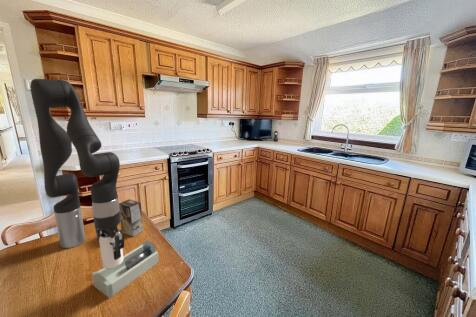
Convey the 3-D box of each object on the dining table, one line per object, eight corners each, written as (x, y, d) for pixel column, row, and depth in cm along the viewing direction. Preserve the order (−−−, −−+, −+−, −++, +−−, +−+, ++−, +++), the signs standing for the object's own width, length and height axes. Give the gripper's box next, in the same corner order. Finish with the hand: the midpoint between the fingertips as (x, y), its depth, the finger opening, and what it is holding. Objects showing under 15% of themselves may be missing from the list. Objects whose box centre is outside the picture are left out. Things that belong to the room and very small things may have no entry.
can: (114, 271, 69) (110, 239, 66) (98, 267, 70) (93, 236, 67) (127, 258, 75) (124, 228, 72) (112, 255, 76) (109, 226, 74)
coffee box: (143, 230, 107) (141, 202, 103) (133, 237, 101) (130, 207, 98) (131, 226, 111) (129, 198, 107) (120, 232, 105) (117, 203, 101)
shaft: (124, 267, 80) (123, 254, 78) (148, 252, 88) (147, 240, 87) (132, 273, 77) (131, 259, 76) (155, 256, 86) (154, 244, 85)
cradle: (93, 285, 72) (91, 273, 71) (143, 253, 89) (142, 243, 88) (109, 298, 68) (107, 285, 67) (158, 261, 85) (158, 251, 84)
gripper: (83, 210, 69) (89, 254, 72) (106, 222, 62) (112, 269, 65) (106, 202, 75) (111, 243, 79) (130, 212, 68) (134, 256, 72)
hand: (112, 255), depth 72 cm, fingers closed on can, 6 cm apart
